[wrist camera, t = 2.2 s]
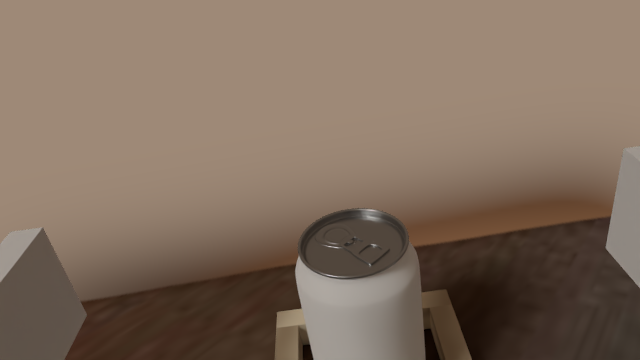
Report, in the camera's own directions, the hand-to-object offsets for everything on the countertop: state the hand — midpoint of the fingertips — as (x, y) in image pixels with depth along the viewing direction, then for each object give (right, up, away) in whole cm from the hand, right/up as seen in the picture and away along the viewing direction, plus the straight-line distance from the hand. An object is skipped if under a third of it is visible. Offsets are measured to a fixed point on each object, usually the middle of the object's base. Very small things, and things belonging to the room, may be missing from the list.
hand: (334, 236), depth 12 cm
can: (+3, -12, +20) cm, 23 cm away
